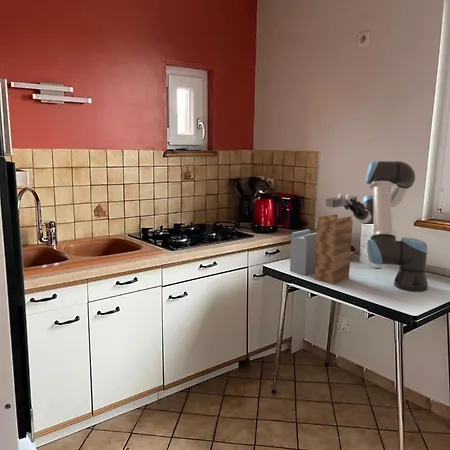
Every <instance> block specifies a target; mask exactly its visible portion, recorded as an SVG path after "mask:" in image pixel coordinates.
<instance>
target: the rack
mask: <svg viewBox="0 0 450 450" xmlns="http://www.w3.org/2000/svg"><path fill="white" fill-rule="evenodd" d="M316 242H317V232H313V233H311V229H305V230H299V231H295V232H291V236H290V256H289V257H290V259H289V260H290V261H289V272H292V273H297V274H299V275H302V276H303V275H304V276H307V275H311V274H313V273H314V274H315V262H316Z"/></svg>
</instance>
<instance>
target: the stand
mask: <svg viewBox="0 0 450 450" xmlns="http://www.w3.org/2000/svg"><path fill="white" fill-rule="evenodd" d="M353 221H354V220H353V219H352V216H351V215H350V216H349V215H348V216H347V215H346V216H342V217H338V214H337V213H336V214H327V215H323V214H319V215H318V220H317V227H316V233H317V242H316V262H315V272H314V280H315V281H320V282H322V283H327V284H329V283H330V285H336V284H339V283H342V282H344V281H346V280H349V279H350V269H351V268H350V267H351V252H352V251H351V250H352V238H353V237H352V234H353V223H354V222H353Z"/></svg>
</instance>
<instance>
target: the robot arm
mask: <svg viewBox="0 0 450 450" xmlns="http://www.w3.org/2000/svg"><path fill="white" fill-rule="evenodd" d="M369 162H370V161H369ZM415 180H416V173H415V170H414V169H413V167H412V166H411V165H410V164H408V163H407V162H404V161H398V160H397V161H395V160H393V161H390V160H387V161H386V160H385V161H384V160H373V161H372V160H371V162H370V163H369V164H368V166H367V171H366V177H365V183H366V184H368V185H369V189H371V190H372V195H371V194H368V195H364V196H363V198H362V202H360V201H358V200H357V201H356V199H354V200H353V199H352V198H351V197H350V196H351V195H350V194H346V200H347V201H348V202H349V203H350V204H352V203H353V204H352V205H346V206H342V207H344V209H345V210H346V211H348V210H350V211H351V212H352V213H353V214H352V215H353V216H354V218H355V219H357V220H358V221H360V223H361V224H363V225H364V224H374V229H373V234H372V235H371V236H370V238H369V239H368V240H367V243H366V246H367V249H366V250H367V255H368V259H369V261H370V262H371V263H372V264H377V265H380V266H381V265H388V266H391V265H392V266H393V265H395V266H398V267H399V268H398V271H397V273H396V275H395V278H394V281H393V285H394V287H396V288H398V289H401V290H404V291H408V292H410V291H411V292H424V291H426V290H428V286H429V283H428V280H427V276H426V275H427V274H426V266H427V257H428V256H427V255H428V243H427V242H425V241H424V240H421V239H417V238H413V237H401V240H397V237H396V235H395V234H394V233H393V221H392V220H393V217H392V215H393V213H391V207H395V206H396V205H398V204H399V203H400V202H401V201H403V199H404V197H405V196H406V194H407V192H408V190H409V189H410V188H411V187H413V185H414V183H415ZM337 197H345V196H344V195H343V194H342V193H339V194H338V196H337Z"/></svg>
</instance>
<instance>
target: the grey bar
mask: <svg viewBox="0 0 450 450" xmlns="http://www.w3.org/2000/svg"><path fill="white" fill-rule="evenodd" d="M346 196H347V195H346ZM346 196H344V197H338V196H337V197H331V198H330V197H329V198H326V199H325V200H326V201H325V207H326V208H327V207H328V208H339V207H343V206H346V205H352V204H353V203H352V204H350V203H349V202H348V201H347V200H346ZM349 196H350V197H351V198H352V199H353V200H354V199H356V201H358V196H357V195H356V196H355V195H349Z"/></svg>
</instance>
